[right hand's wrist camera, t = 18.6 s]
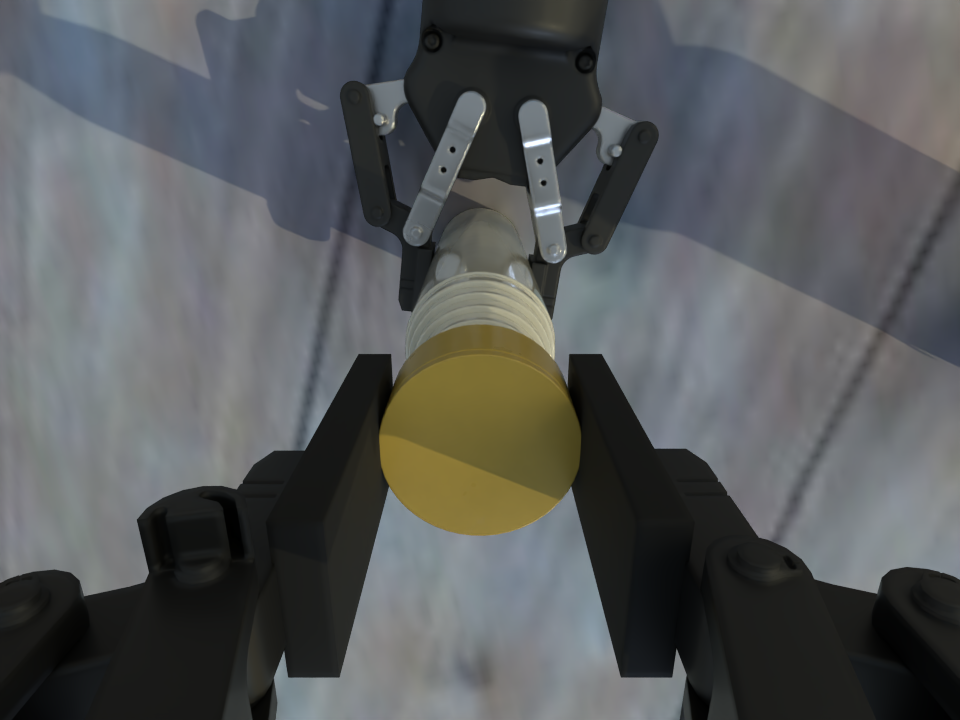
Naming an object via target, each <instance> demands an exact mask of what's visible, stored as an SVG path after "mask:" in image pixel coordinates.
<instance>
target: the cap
mask: <svg viewBox="0 0 960 720" xmlns="http://www.w3.org/2000/svg"><path fill="white" fill-rule="evenodd" d="M379 443H380V458H381V468H382V471H383V474H384V477H385V479H386V481H387V483H388V485H389V487H390V488H391V490H392V491H393V493H394V494H395V495H396V497H397V498H398V499H399V500H400V501H401V503H402V504H403V505H404V506H405V507H406V508H407V509H409V510H410V511H411V512H412V513H413V514H415V515H416V516H418V517H419V518H421V519H422V520H424V521H425V522H427V523H429V524H431V525H433V526H435V527H438V528H441V529H444V530H446V531H450V532H454V533H458V534H465V535H478V536H486V535H496V534H502V533H507V532H511V531H514V530H517V529H520V528H522V527H525V526H527V525H529V524H531V523H533V522H535V521H536V520H538V519H540V518H541V517H543V516H544V515H546V514H547V513H548V512H549V511H551V510H552V509H553V508H554V507H555V506H556V505H557V504H558V503H559V502H560V501H561V500H562V498H563V497H564V496H565V494H566V493H567V492H568V490H569V489H570V487H571V485H572V483H573V482H574V480H575V477H576V475H577V472H578V470H579V463H580V449H581V428H580V423H579V420H578V417H577V414H576V411H575V408H574V405H573V402H572V399H571V397H570V394H569V391H568V388H567V385H566V382H565V380H564V377H563V374H562V372H561V371H560V369H559V367H558V365H557V364H556V362H555V361H554V360H553V358H552V357H551V356H550V355H549V354H548V353H547V351H546V350H545V349H544V348H543V347H541V346H540V345H539V344H537V343H536V342H535V341H534V340H532V339H530V338H529V337H527V336H525V335H523V334H521V333H519V332H516V331H514V330H511V329H508V328H504V327H501V326H494V325H480V324H475V325H466V326H460V327H456V328H452V329H449V330H447V331H444V332H441V333H439V334H437V335H435V336H434V337H432V338H430V339H428V340H427V341H426V342H424V343H423V344H421V345H420V346H419V347H418V348H417V349H416V350H415V351H414V352H413V353H412V354H411V355H410V356H409V358H408V359H407V360H406V361H405V363H404V364H403V366H402V368H401V369H400V371H399V373H398V376H397V378H396V380H395V383H394V386H393V389H392V392H391V394H390V397H389V400H388V403H387V406H386V409H385V412H384V415H383V417H382V421H381V425H380V429H379Z"/></svg>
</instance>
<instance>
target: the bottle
mask: <svg viewBox="0 0 960 720" xmlns="http://www.w3.org/2000/svg"><path fill="white" fill-rule="evenodd" d="M475 324H480V325H494V326H501V327H504V328H508V329H511V330H514V331H516V332H519V333H521V334H523V335H525V336H527V337H529V338H530V339H532V340H534V341H535V342H536V343H537V344H539V345H540V346H541V347H543V348H544V349H545V350H546V351H547V353H548V354H549V355H550V356H551V357H552V358H553V360H554V358H555V335H554V329H553V324H552V321H551V318H550V316H549V313H548V311H547V308H546V305H545V303H544V300H543V298H542V295H541V293H540V290H539V287H538V285H537V282H536V280H535V277H534V274H533V272H532V269H531V267H530V264H529V261H528V259H527V256H526V254H525V251H524V248H523V246H522V243H521V241H520V238H519V236H518V233H517V231H516V229H515V227H514V226H513V224H512V223H511V222H510V221H509V220H508V219H507V218H506V217H505V216H504V215H502V214H500V213H499V212H496V211H494V210H491V209H486V208H474V209H469V210H466V211H464V212H462V213H460V214H458V215H457V216H455V217H454V218H453V219H452V220H451V221H450V222H449V223H448V225H447V226H446V228H445V229H444V231H443V234H442V236H441V239H440V241H439V244H438V246H437V249H436V252H435V254H434V257H433V259H432V262H431V265H430V267H429V270H428V272H427V275H426V278H425V280H424V283H423V285H422V288H421V291H420V293H419V296H418V298H417V301H416V304H415V306H414V309H413V311H412V314H411V316H410V319H409V322H408V326H407V330H406V338H405V345H406V346H405V354H406V360H407V359H408V358H409V356H410V355H411V354H412V353H413V352H414V351H415V350H416V349H417V348H418V347H419V346H420V345H421V344H423V343H424V342H426V341H427V340H428V339H430V338H432V337H434V336H435V335H437V334H439V333H441V332H444V331H447V330H449V329H452V328H456V327H460V326H466V325H475Z"/></svg>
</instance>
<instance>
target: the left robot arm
mask: <svg viewBox="0 0 960 720" xmlns="http://www.w3.org/2000/svg"><path fill="white" fill-rule="evenodd" d="M607 3H608V0H423V3H422V16H421V28H420V40H419V46H418V50H417V53H416V56H415V58H414V60H413V62H412V64H411V65H410V67H409V68H408V70H407V72H406V74H405V77H404V79H401V80H394V81H388V82H381V83H375V84H368V85H365V84H362V83H360V82H358V81H350V82H347V83H346V84H345V85H344V86H343V87H342V89H341V92H340V99H341V104H342V109H343V114H344V119H345V124H346V129H347V134H348V139H349V144H350V149H351V154H352V159H353V164H354V168H355V173H356V178H357V183H358V188H359V193H360V198H361V203H362V208H363V213H364V217H365V219H366V221H367V222H368V223H369V224H371V225H372V226H376V227H381V228H383V229H385V230H387V231H389V232H391V233H393V234H395V235H396V236H397V237H398V238H399V240H400V241H401V244H402V263H401V275H400V288H399V303H400V306H401V309H402V310H403V311H413V309H414V306H415V304H416V301H417V298H418V296H419V293H420V291H421V288H422V285H423V283H424V280H425V278H426V275H427V272H428V270H429V267H430V265H431V262H432V259H433V257H434V254H435V244H436V242H432V232H433V229H434V226H435V224H436V222H437V220H438V218H439V215H440V213H441V211H442V209H443V206H444V204H445V202H446V200H447V198H448V196H449V193H450V191H451V189H452V187H453V185H454V182H455V180H456V178H463V179H471V180H478V179H485V178H496V179H498V180H501V181H503V182H506V183H508V184H510V185H517V186H525V187H526V193H527V198H528V203H529V207H530V212H531V218H532V224H533V230H534V235H535V241H536V242H535V249H534V255H532V254H529V258H528V261H529V264H530V267H531V269H532V272H533V274H534V277H535V280H536V282H537V285H538V287H539V290H540V293H541V295H542V298H543V300H544V303H545V305H546V308H547V311H548V313H549V316H550V318H551V320H552V318H553V312H554V306H555V300H556V294H557V288H558V283H559V277H560V271H561V267H562V265H563V264H564V262H565V261H566V260H568V259H569V258H571V257H574V256H578V255H582V254H587V253H589V254H599V253H601V252H603V251H604V250H605V249H606V247H607V245H608V243H609V241H610V239H611V237H612V235H613V233H614V231H615V229H616V227H617V225H618V222H619V220H620V218H621V216H622V214H623V212H624V210H625V208H626V206H627V204H628V202H629V200H630V197H631V195H632V193H633V191H634V189H635V187H636V185H637V183H638V181H639V179H640V177H641V174H642V172H643V170H644V168H645V166H646V164H647V162H648V160H649V158H650V156H651V154H652V151H653V149H654V147H655V145H656V143H657V141H658V136H659V134H658V129H657V127H656V126H655V125H654V124H653V123H651V122H648V121H634V120H632V119H630V118H628V117H625V116H623V115H621V114H619V113H617V112H614V111H612V110H610V109H608V108H606V107H603V106H602V98H601V94H600V91H599V88H598V84H597V77H596V69H597V61H598V55H599V49H600V43H601V38H602V32H603V26H604V20H605V15H606V9H607ZM405 104H409V105H410V107H411V109H412V111H413V113H414V115H415V116H416V118H417V120H418V122H419V124H420V126H421V127H422V129H423V131H424V133H425V135H426V137H427V138H428V140H429V142H430V144H431V146H432V148H433V149H434V151H435V155H434V157H433V159H432V162H431V164H430V166H429V169H428V171H427V173H426V176H425V178H424V180H423V183H422V185H421V188H420V191H419V193H418V196H417V198H416V200H415V203H414V205H413V207H412V208H410V207H409V206H407V205H405V204H403V203H401V202H399V201H397V199H396V194H395V188H394V183H393V177H392V172H391V166H390V161H389V155H388V150H387V145H386V139H385V135H388V134H391V133H392V132H393V131H394V130H395V129H396V127H397V123H398V112H399V110H400V109H401V107H402V106H404V105H405ZM591 129H593V130H594V131H595V132H596V134H597V136H598V144H597V148H596V155H597V158H598V159H599V161H601V162H602V163H604V166H603V168H602V170H601V173H600V175H599V177H598V179H597V181H596V184H595V186H594V188H593V190H592V192H591V195H590V197H589V199H588V201H587V203H586V206H585V208H584V210H583V212H582V214H581V217H580V219H579V221H578V223H577V224H573V225H569V226H565V227H564V226H563V219H562V212H561V198H560V192H559V185H558V179H557V172H556V166H557V165H558V164H559V163H560V162H561V161H562V160H563V159H564V158H565V156H566V155H567V154H568V153H569V152H570V151H571V150H572V149H573V148H574V147H575V146H576V145H577V144H578V143H579V141H580V140H581V139H582V138H583V137H584V136H585V135H586V134H587V133H588V132H589V131H590V130H591ZM457 176H458V177H457Z"/></svg>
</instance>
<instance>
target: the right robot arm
mask: <svg viewBox="0 0 960 720" xmlns="http://www.w3.org/2000/svg"><path fill="white" fill-rule="evenodd" d="M392 389H393V381H392V362H391V354H359V355H358V356H357V358H356V360H355V362H354V364H353V365H352V367H351V369H350V371H349V373H348V374H347V376H346V378H345V380H344V382H343V383H342V385H341V387H340V389H339V391H338V392H337V394H336V396H335V398H334V400H333V401H332V403H331V405H330V407H329V409H328V410H327V412H326V414H325V416H324V418H323V419H322V421H321V423H320V425H319V427H318V428H317V430H316V432H315V434H314V436H313V437H312V439H311V441H310V443H309V445H308V446H307V448H306V450H305V451H273V452H272V453H270V454H269V455H268V456H266V457H265V458H263V459H262V460H260V461H259V462H257V463H256V464H254V465H253V467H252V468H251V470H250V471H249V473H248V474H247V476H246V477H245V479H244V480H243V484H240V486H239V487H238V489H237V490H236V489H232V488H228V487H224V486H202V487H197V488H192V489H187V490H182V491H180V492H177V493H174V494H172V495H169V496H167V497H164V498H162V499H161V500H159V501H157V502H156V503H154V504H153V505H151V506H149V507H148V508H147V509H146V510H145V511H144V512H143V513H142V514H141V516H140V517H139V518H138V519H137V523H138V527H139V531H140V535H141V540H142V544H143V548H144V553H145V557H146V561H147V565H148V570H149V574H148V577H147V579H146V581H145V583H141V584H137V585H134V586H130V587H126V588H121V589H117V590H112V591H107V592H102V593H98V594H93V595H88V596H84V595H83V591H82V588H81V584H80V581H79V580H78V579H77V578H76V577H75V576H74V575H73V574H72V573H70V572H64V571H59V570H47V571H37V572H31V573H27V574H22V575H21V576H16V577H13V578H10V579H7V580H5V581H4V582H2V583H0V720H275V719H276V711H277V697H276V689H275V683H274V675H275V673H276V670H277V667H278V665H279V662H280V660H281V657H282V654H283V652H285V659H286V666H287V672H288V677H340V673H341V669H342V665H343V662H344V658H345V654H346V650H347V646H348V642H349V638H350V635H351V631H352V627H353V623H354V619H355V615H356V612H357V608H358V604H359V600H360V596H361V592H362V588H363V585H364V581H365V577H366V573H367V569H368V565H369V561H370V558H371V554H372V550H373V546H374V542H375V538H376V534H377V531H378V527H379V523H380V519H381V515H382V511H383V507H384V504H385V500H386V496H387V492H388V488H389V485H388V483H387V481H386V479H385V477H384V474H383V471H382V468H381V458H380V443H379V429H380V425H381V421H382V417H383V415H384V412H385V409H386V406H387V403H388V400H389V397H390V394H391V392H392ZM568 391H569V394H570V397H571V399H572V402H573V405H574V408H575V411H576V414H577V417H578V420H579V423H580V428H581V449H580V463H579V470H578V472H577V475H576V477H575V480H574V482H573V483H572V485H571V487H572V491H573V494H574V498H575V502H576V506H577V510H578V514H579V518H580V521H581V525H582V529H583V533H584V537H585V541H586V545H587V548H588V552H589V556H590V560H591V564H592V568H593V571H594V575H595V579H596V583H597V587H598V591H599V595H600V598H601V602H602V606H603V610H604V614H605V618H606V622H607V625H608V629H609V633H610V637H611V641H612V645H613V649H614V652H615V656H616V660H617V664H618V668H619V672H620V676H621V677H672V675H673V668H674V662H675V655H676V648H677V650H678V653H679V655H680V658H681V661H682V663H683V666H684V669H685V671H686V674H687V676H686V683H685V689H684V696H683V702H682V708H681V715H680V720H960V580H959V579H957V578H956V577H954V576H951V575H948V574H945V573H939V572H938V571H933V570H929V569H921V568H911V567H904V568H899V569H893V570H890V571H889V572H888V573H887V574H886V575H884V576H883V577H882V579H881V583H880V586H879V590H878V593H877V594H875V593H870V592H866V591H861V590H856V589H852V588H847V587H842V586H837V585H833V584H829V583H825V582H822V581H818V580H815V579H814V578H813V576H812V573H811V572H810V570H809V569H808V567H807V566H806V565H805V563H804V562H803V561H802V559H800V558H799V557H798V556H796V555H795V554H794V553H792V552H791V551H789V550H788V549H787V548H785V547H783V546H780V545H778V544H776V543H774V542H771V541H769V540H766V539H762V538H759V537H758V536H757V535H756V533H755V532H754V530H753V529H752V527H751V526H750V524H749V523H748V522H747V520H746V519H745V517H744V516H743V514H742V513H741V511H740V510H739V509H738V507H737V506H736V504H735V503H734V501H733V500H732V499H731V497H730V496H727V491H726V490H725V488H724V487H723V486H722V484H721V483H720V482H718V478H717V477H716V475H715V474H714V473H713V471H712V470H711V468H710V467H709V465H708V464H707V463H706V462H705V461H703V460H702V459H701V458H699V457H698V456H696V455H695V454H693V453H692V452H690V451H689V450H687V449H654V447H653V446H652V444H651V442H650V440H649V438H648V437H647V435H646V433H645V431H644V429H643V428H642V426H641V424H640V422H639V420H638V419H637V417H636V415H635V413H634V411H633V410H632V408H631V406H630V404H629V402H628V401H627V399H626V397H625V395H624V393H623V392H622V390H621V388H620V386H619V384H618V383H617V381H616V379H615V377H614V375H613V374H612V372H611V370H610V368H609V366H608V365H607V363H606V361H605V359H604V357H603V356H602V354H569V370H568Z"/></svg>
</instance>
